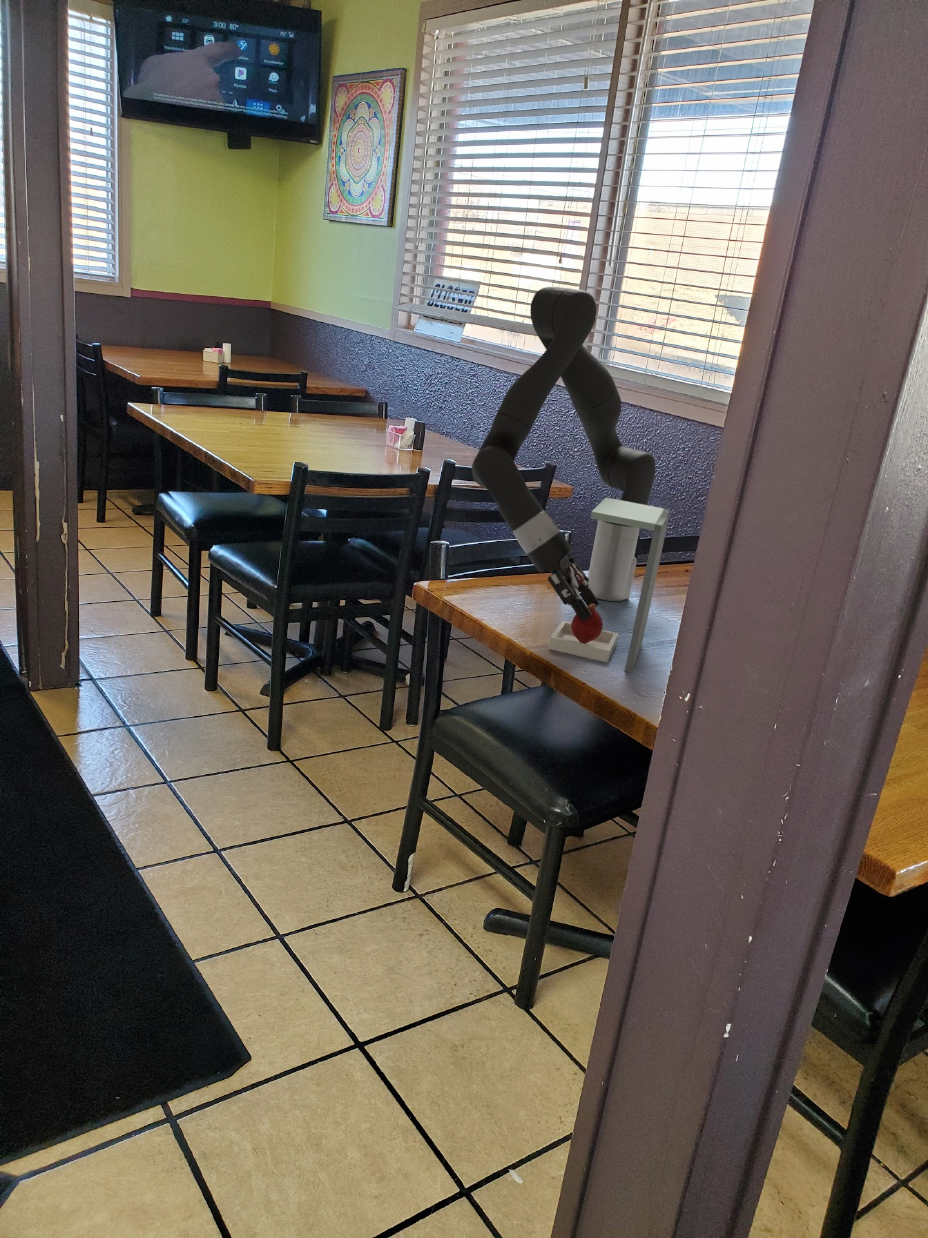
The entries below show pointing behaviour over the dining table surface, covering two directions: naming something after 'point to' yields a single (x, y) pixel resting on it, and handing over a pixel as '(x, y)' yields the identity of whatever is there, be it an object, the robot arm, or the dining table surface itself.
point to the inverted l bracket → (658, 523)
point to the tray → (593, 649)
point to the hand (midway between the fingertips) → (591, 612)
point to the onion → (587, 626)
